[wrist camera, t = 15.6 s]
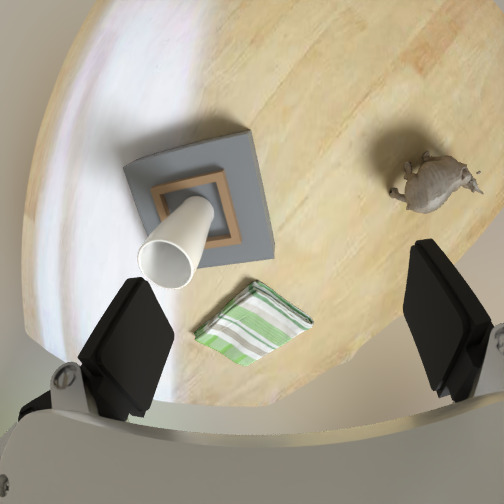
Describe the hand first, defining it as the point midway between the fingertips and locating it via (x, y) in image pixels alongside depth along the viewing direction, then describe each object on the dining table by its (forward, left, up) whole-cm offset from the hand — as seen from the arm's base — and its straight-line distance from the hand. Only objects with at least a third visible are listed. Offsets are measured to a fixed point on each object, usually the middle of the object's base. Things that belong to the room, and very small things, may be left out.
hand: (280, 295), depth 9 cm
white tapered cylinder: (+8, -14, -32) cm, 35 cm away
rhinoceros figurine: (+9, +25, -37) cm, 45 cm away
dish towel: (+39, -13, -37) cm, 55 cm away
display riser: (+8, -14, -36) cm, 40 cm away
